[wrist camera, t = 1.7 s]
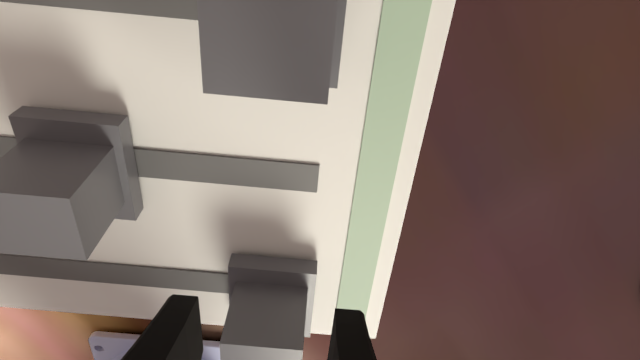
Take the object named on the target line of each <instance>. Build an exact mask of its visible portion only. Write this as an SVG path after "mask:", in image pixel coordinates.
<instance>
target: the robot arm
mask: <svg viewBox="0 0 640 360" xmlns="http://www.w3.org/2000/svg"><path fill="white" fill-rule="evenodd" d="M88 342H89V345H90V348H91V351H92V354H93V357H94V360H220V344H219V343H220V341H209V340H203V339H202V329H201V319H200V309H199V299H198V296H188V295H176V294H173V295H171V296H170V297H168V299H167V300H166V302H165V303H164V305H163V306H162V307H161V309H160V310H159V311H158V313H157V314H156V316H155V317H154V318H153V320H152V321H151V322H150V324H149V325H148V326H147V328H146V329H145V330H144V331H143V333H142V334H141V335H138V334H126V333H114V332H103V331H95V332H92V334H91V335H90V337H89V339H88ZM327 360H377V359H376V356H375V353H374V350H373V347H372V343H371V340H370V336H369V333H368V329H367V325H366V321H365V315H364V313H363V312H362V311H361V310H351V309H339V308H335V313H334V319H333V326H332V333H331V339H330V346H329V353H328V359H327Z"/></svg>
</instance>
